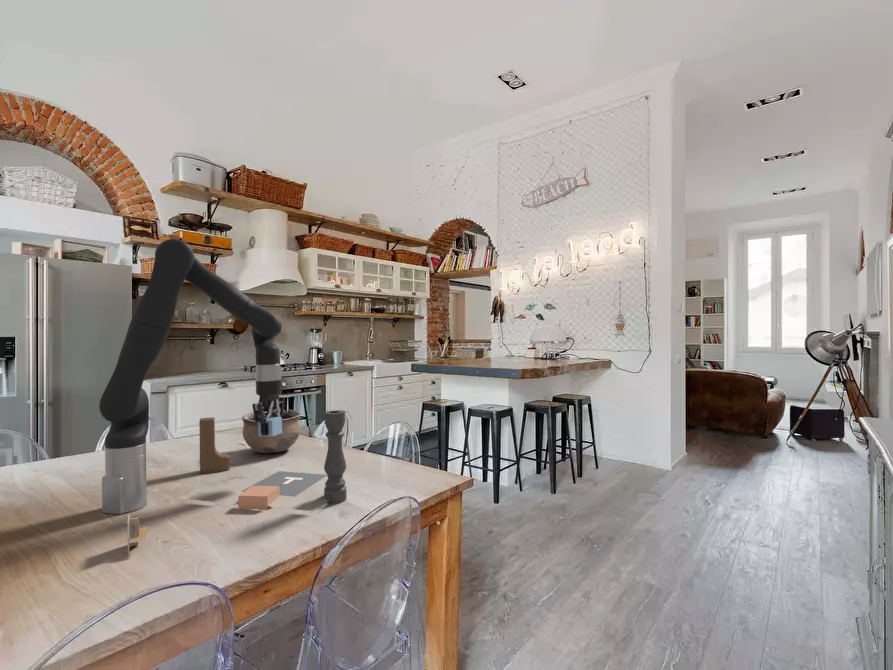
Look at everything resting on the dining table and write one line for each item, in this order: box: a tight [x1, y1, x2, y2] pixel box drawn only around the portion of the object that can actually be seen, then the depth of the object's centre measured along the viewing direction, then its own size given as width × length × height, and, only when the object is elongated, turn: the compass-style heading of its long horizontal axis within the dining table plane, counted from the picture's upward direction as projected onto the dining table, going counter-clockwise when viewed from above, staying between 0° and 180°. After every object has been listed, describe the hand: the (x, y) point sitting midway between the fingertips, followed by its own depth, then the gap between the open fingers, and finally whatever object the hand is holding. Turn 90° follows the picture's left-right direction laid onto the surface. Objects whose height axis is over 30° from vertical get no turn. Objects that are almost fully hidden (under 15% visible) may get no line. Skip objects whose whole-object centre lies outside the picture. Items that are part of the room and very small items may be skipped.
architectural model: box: [126, 513, 148, 555], centre depth 104 cm, size 3×7×8 cm, turn 32°
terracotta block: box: [237, 485, 281, 511], centre depth 130 cm, size 8×8×4 cm
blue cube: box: [258, 417, 282, 437], centre depth 146 cm, size 5×5×5 cm
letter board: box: [240, 470, 328, 497], centre depth 144 cm, size 20×18×1 cm
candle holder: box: [323, 409, 348, 505], centre depth 133 cm, size 6×6×25 cm
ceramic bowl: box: [241, 408, 302, 454], centre depth 185 cm, size 22×22×15 cm
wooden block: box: [199, 417, 231, 474], centre depth 160 cm, size 9×4×18 cm, turn 115°
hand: (270, 432), depth 146 cm, fingers closed on blue cube, 5 cm apart
